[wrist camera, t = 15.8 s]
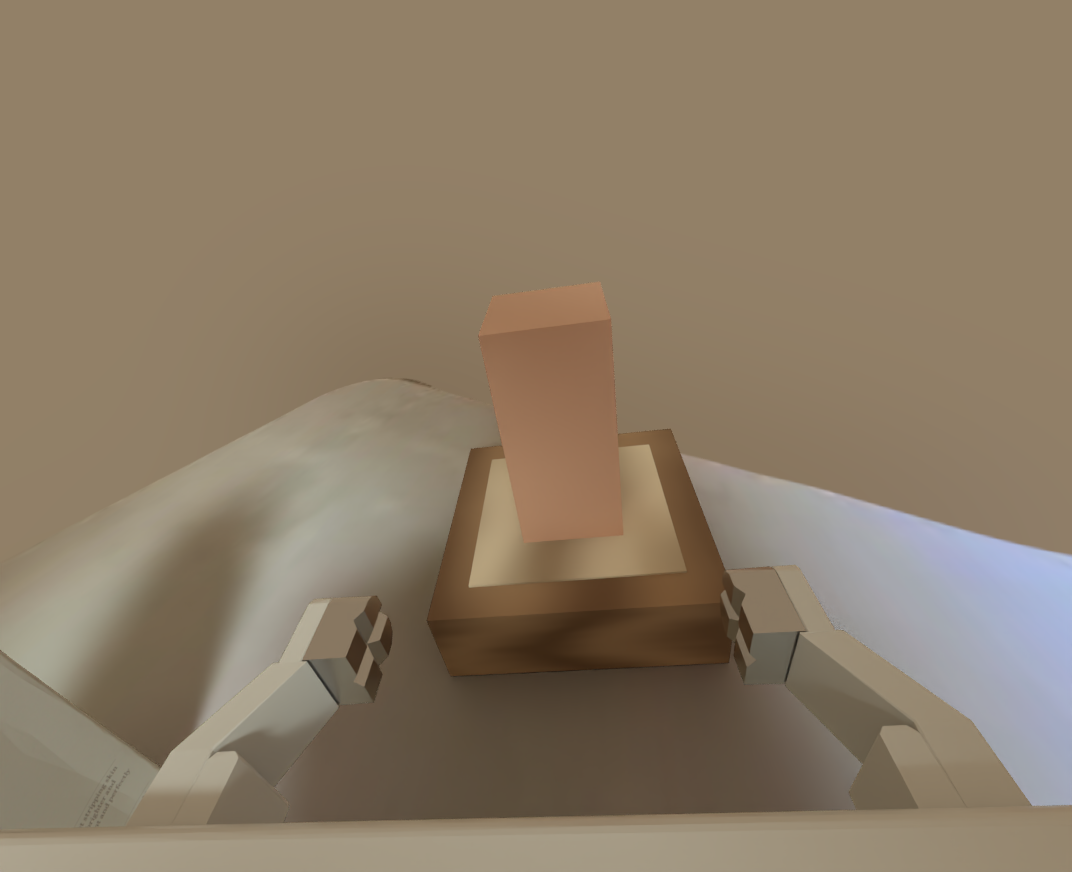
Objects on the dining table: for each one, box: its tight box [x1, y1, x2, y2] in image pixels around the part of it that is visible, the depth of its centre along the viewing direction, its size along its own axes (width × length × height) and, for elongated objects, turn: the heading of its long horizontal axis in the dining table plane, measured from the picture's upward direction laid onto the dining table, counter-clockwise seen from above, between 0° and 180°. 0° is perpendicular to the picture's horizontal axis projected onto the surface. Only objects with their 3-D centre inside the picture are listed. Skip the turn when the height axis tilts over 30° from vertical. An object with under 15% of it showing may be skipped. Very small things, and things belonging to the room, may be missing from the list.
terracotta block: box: [478, 282, 623, 543], centre depth 20 cm, size 4×4×10 cm
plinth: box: [427, 429, 732, 676], centre depth 24 cm, size 12×12×4 cm
